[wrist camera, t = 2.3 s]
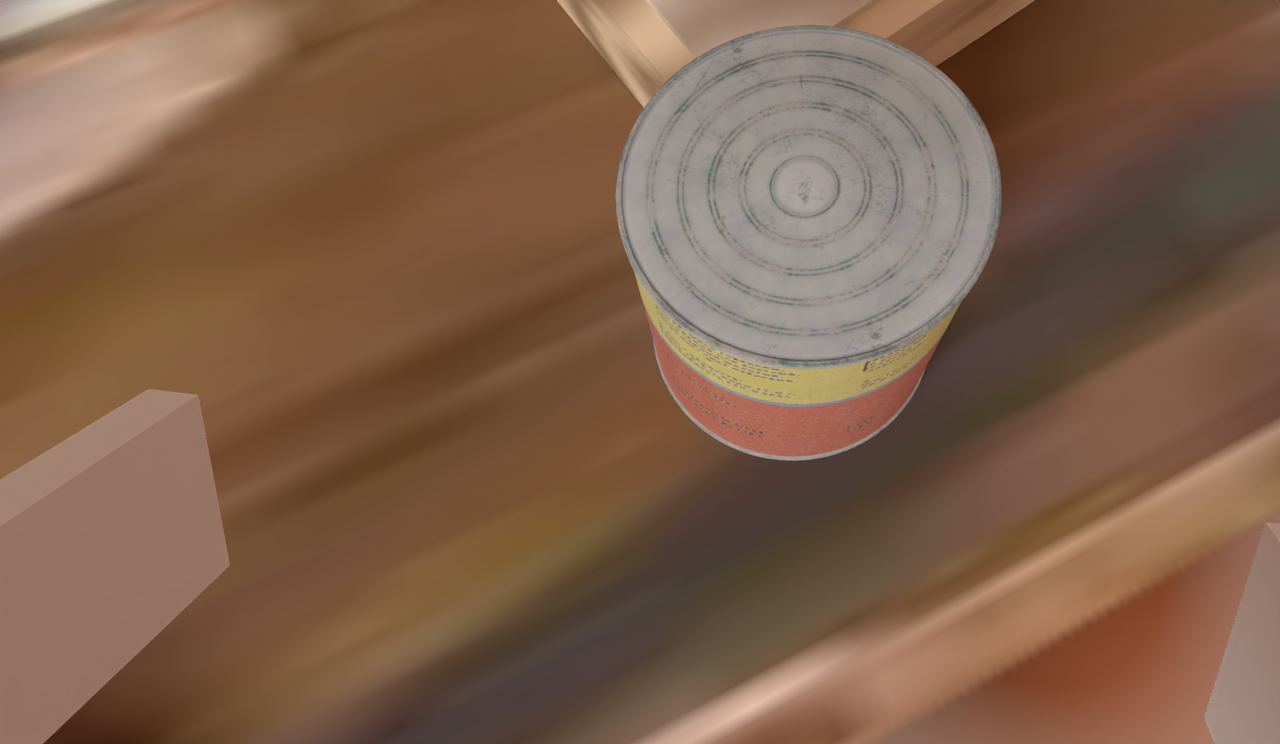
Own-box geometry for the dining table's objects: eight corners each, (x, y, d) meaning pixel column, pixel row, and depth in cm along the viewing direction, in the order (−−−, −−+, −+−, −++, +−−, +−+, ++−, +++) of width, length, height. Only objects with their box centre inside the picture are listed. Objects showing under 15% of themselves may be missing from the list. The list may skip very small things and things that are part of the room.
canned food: (989, 356, 39) (1087, 221, 28) (757, 516, 38) (760, 444, 27) (818, 156, 43) (842, -37, 31) (602, 298, 42) (546, 152, 30)
